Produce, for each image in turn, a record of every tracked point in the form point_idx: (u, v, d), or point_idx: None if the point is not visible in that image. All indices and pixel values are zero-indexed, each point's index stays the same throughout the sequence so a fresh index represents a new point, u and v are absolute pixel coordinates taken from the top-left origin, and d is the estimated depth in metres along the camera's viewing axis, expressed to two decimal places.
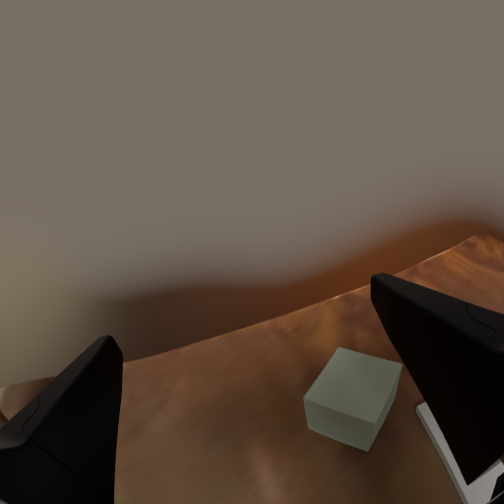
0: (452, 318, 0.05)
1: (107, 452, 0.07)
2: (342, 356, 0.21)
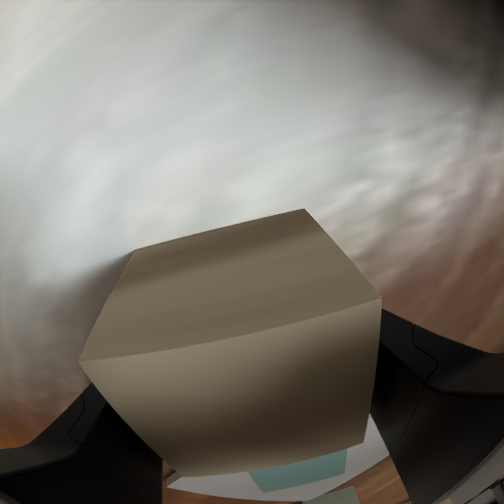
0: (392, 343, 0.05)
1: (154, 453, 0.07)
2: None
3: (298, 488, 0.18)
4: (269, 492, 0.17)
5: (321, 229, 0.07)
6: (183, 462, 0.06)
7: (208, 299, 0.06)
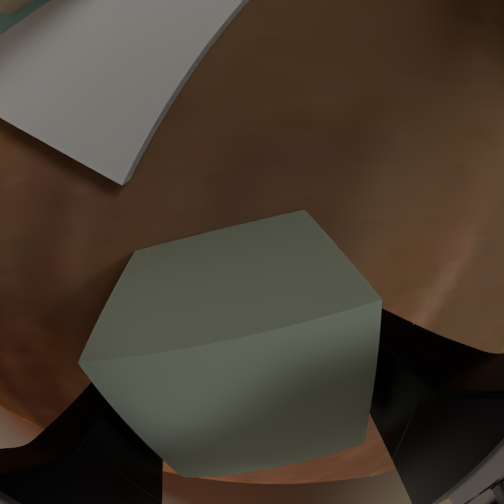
0: (392, 343, 0.05)
1: (153, 453, 0.07)
2: (201, 468, 0.07)
3: (68, 16, 0.05)
4: (9, 39, 0.05)
5: None
6: None
7: None
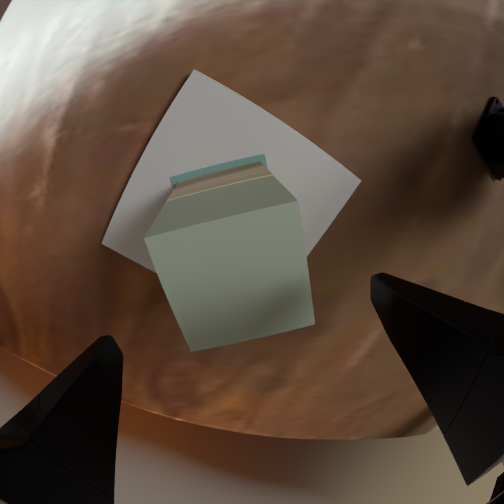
0: (452, 318, 0.05)
1: (107, 452, 0.07)
2: (204, 335, 0.12)
3: None
4: None
5: (263, 165, 0.17)
6: None
7: (216, 182, 0.16)
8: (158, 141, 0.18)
